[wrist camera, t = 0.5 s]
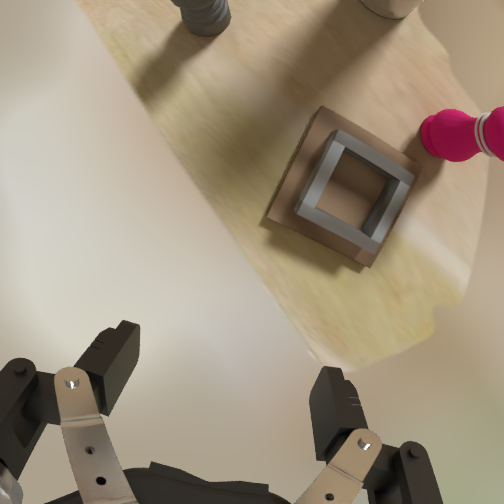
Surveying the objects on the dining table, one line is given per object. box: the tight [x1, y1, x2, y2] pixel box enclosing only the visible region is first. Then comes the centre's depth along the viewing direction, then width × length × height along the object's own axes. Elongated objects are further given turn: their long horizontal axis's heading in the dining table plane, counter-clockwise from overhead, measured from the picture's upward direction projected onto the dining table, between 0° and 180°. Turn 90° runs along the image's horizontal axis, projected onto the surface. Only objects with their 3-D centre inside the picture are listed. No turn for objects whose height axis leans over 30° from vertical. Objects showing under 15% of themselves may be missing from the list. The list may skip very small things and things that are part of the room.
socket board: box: [267, 106, 422, 268], centre depth 36 cm, size 16×16×6 cm
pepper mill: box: [421, 106, 504, 162], centre depth 26 cm, size 7×7×20 cm
